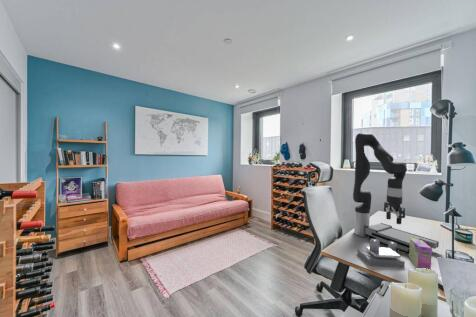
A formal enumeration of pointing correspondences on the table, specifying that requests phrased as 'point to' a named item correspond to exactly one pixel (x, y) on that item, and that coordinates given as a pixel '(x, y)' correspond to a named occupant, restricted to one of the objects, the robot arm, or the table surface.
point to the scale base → (379, 259)
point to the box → (420, 253)
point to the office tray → (395, 237)
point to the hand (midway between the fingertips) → (393, 221)
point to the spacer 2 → (392, 246)
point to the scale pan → (385, 253)
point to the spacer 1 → (374, 245)
